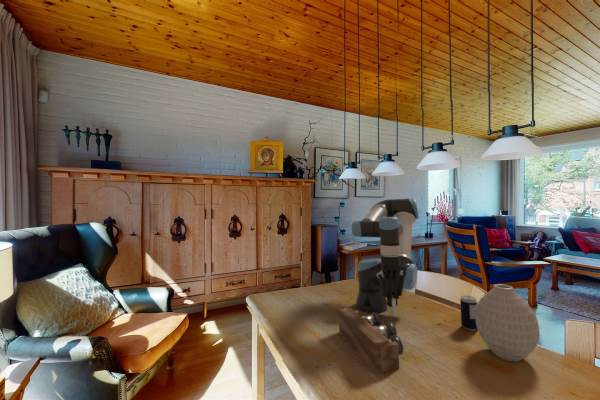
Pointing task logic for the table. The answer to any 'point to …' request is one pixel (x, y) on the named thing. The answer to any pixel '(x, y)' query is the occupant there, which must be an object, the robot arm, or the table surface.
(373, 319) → the knob
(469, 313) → the beverage can
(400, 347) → the knob
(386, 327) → the knob
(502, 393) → the table surface
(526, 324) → the vase
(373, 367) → the wooden rack
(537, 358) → the table surface
